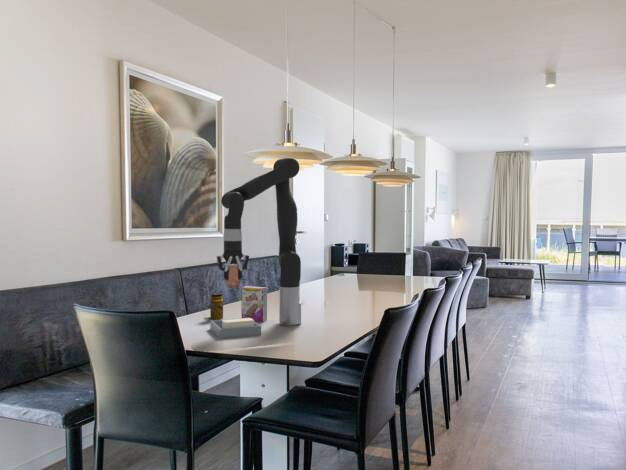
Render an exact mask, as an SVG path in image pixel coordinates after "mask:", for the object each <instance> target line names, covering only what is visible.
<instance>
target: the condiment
mask: <svg viewBox="0 0 626 470" xmlns="http://www.w3.org/2000/svg"><path fill="white" fill-rule="evenodd" d="M209 301H210V302H209V303H210V305H209V306H210V311H209V313H210V315H209V317H208V316H207V317H204V319H205V320H207V321H215V320H227V318H225V317H224V299H223V293H220V292H214V293H211V294H210V300H209Z"/></svg>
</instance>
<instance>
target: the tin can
mask: <svg viewBox="0 0 626 470" xmlns="http://www.w3.org/2000/svg"><path fill="white" fill-rule="evenodd" d="M227 272H228V280H226V287H227V288H230V289H231V288H239V286H240V280H239V266H238V265H236V264H230V265H229V267H228V270H227Z"/></svg>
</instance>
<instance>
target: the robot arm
mask: <svg viewBox="0 0 626 470" xmlns="http://www.w3.org/2000/svg"><path fill="white" fill-rule="evenodd" d="M299 172H300V163H299V161H298V160H297V159H295V158H293V157H284V158H279V159H276V161H275V162H274V163H273V168H272V170H271V171H269V172H266V173H263V174H261V175H259V176H256V177H255V178H252V179H250V180H248V181H247V182H245V183H243V184H242V185H241V186H238V187H236V188H233V189H231V190H229V191H227V192H225V193H224V194H223V195H222V197H221V199H220V200H221V201H220V202H221V205H222V206H223V207H224V208H225V209H228V212H227V215H225V216H224V219H223V220H224V222H223V223H224V224H223V227H224V228H223V237H222V238H223V253H222V255H217V256H215V258H216V262H217V266H218V269H219V270H220V271H222V272H223V280H224V281H227V280H228V272H227V270H228V267H229V265H238V266H239V281H241V279H243V271H244V270H246V269H247V268H248V264H249V258H250V256H249V254H243V245H242V244H243V241H242V240H243V234H242V217H243V212H244V207H245V201H249V200H253V199H254V198H256V197H257V196H258V195H260V194H262V193H263V192H265V191H267V190H269V189H270V188H272V187H273V186H274V187H275V194H276V196H275V199H276V220H277V231H278V240H279V241H278V242H279V246H278V247H279V248H278V249H279V250H278V264H279V267H280V277H279V280H278V281H279V283H278V284H279V288H278V289H279V295H278V296H279V298H278V299H279V301H278V302H279V304H278V305H279V310H278V311H279V315H278V316H279V320H278V321H279V323H278V324H280V325H281V326H296V325H301V324H302V303H301V302H300V297H301V296H300V287H301V286H300V285H301V283H300V282H301V273H302V272H301V271H302V270H301V268H302V267H301V266H302V264H301V263H302V262H301V257H300V255H299V254H298V253H297V247H296V236H297V235H296V234H297V228H298V207H297V204H296V201H295V199H294V197H293V195H292V192H291V189H290V188H291V187H290V179H291V178H294V177H296V176H297V175H298V174H299ZM223 259H224V260H225V263H224V266H223V262H222V261H223ZM242 259H243V264H242V263H241V260H242Z"/></svg>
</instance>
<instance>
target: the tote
mask: <svg viewBox="0 0 626 470" xmlns="http://www.w3.org/2000/svg"><path fill="white" fill-rule="evenodd" d="M231 319H232V318H231ZM231 319H230V318H229V319H228V318H226V320H231ZM238 319H243V318H242V317H240V318H239V317H238ZM222 320H223V319H222ZM222 320H213V321H210V322H209V324H210V326H209V327H210V330H211V332H213V333H214V335H216V336H217V338H219V339H220V340H221V339H230V338H231V339H232V338H240V337H250V336H251V337H253V336H259V335H262V326H261V325H260V324H259V323H258V322H254V326H250V327H239V328H228V329H222Z"/></svg>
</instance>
